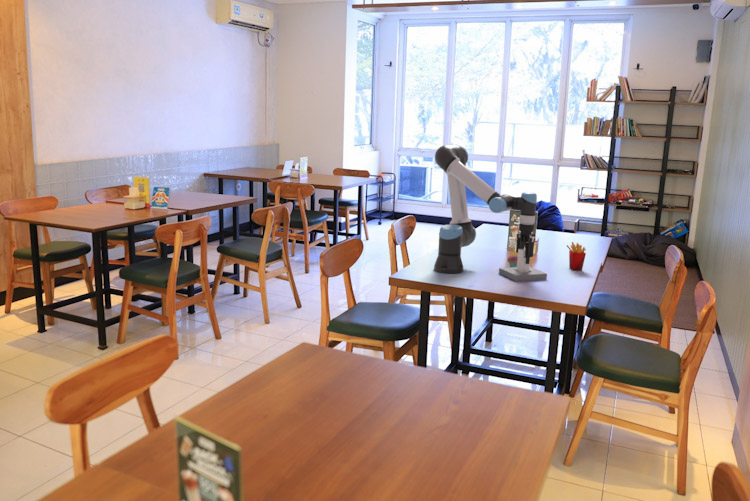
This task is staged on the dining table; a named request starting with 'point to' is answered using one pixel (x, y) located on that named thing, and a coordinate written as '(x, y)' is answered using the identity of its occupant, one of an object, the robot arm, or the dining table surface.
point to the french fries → (576, 257)
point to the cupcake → (513, 259)
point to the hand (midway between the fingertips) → (523, 268)
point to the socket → (522, 274)
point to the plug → (521, 261)
